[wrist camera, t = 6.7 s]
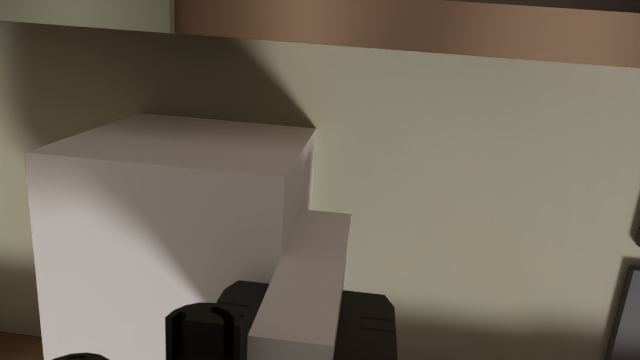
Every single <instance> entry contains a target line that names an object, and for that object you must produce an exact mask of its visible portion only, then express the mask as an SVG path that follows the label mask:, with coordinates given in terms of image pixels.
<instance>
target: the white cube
mask: <svg viewBox="0 0 640 360" xmlns="http://www.w3.org/2000/svg"><path fill="white" fill-rule="evenodd" d="M315 143H316V128H306V127H295V126H283V125H272V124H261V123H250V122H238V121H227V120H216V119H204V118H193V117H182V116H170V115H159V114H148V113H138V114H136V115H133V116H130V117H127V118H124V119H121V120H118V121H115V122H112V123H109V124H106V125H103V126H100V127H97V128H94V129H91V130H88V131H85V132H82V133H80V134H77V135H74V136H71V137H68V138H65V139H62V140H59V141H56V142H53V143H50V144H47V145H44V146H41V147H38V148H35V149H32V150H29V151H26V152H24V156H25V167H26V177H27V188H28V198H29V209H30V219H31V230H32V240H33V251H34V261H35V272H36V282H37V293H38V303H39V314H40V324H41V335H42V345H43V356H44V360H52V359H54V358H58V357H61V356H65V355H68V354H74V353H86V352H87V353H93V354H100V355H102V356H104V357H106V358H107V359H109V360H166V345H165V317H166V316H167V315H169V314H170V313H171V312H172V311H173V310H175V309H178V308H180V307H182V306H185V305H189V304H194V303H199V302H208V303H217V300H218V299H219V297H220V295H221V294H222V292H223V290H224V289H225V288H227V287H229V286H230V285H232V284H233V283H235V282H236V281H238V280H242V281H251V282H260V283H268V284H270V282H271V280H272V277H273V275H274V273H275V270H276V268H277V266H278V263H279V261H280V258H281V256H282V254H283V252H284V249H285V247H286V245H287V242H288V240H289V238H290V235H291V233H292V231H293V228H294V226H295V224H296V222H297V219H298V217H299V215H300V212H301V210H302V209H304V210H311V201H312V187H313V172H314V157H315Z"/></svg>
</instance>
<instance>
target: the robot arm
mask: <svg viewBox="0 0 640 360" xmlns="http://www.w3.org/2000/svg"><path fill="white" fill-rule="evenodd" d="M351 216H352V214H344V213H334V212H324V211H314V210H304V209H302V210H301V212H300V215H299V217H298V219H297V222H296V224H295V226H294V228H293V231H292V233H291V235H290V238H289V240H288V242H287V245H286V247H285V249H284V252H283V254H282V256H281V258H280V261H279V263H278V266H277V268H276V270H275V273H274V275H273V277H272V280H271V282H270V284H268V283H260V282H251V281H242V280H238V281H236V282H235V283H233V284H232V285H230V286H229V287H227V288H225V289H224V290H223V292H222V294H221V295H220V297H219V299H218V300H217V303H208V302H199V303H194V304H189V305H185V306H182V307H180V308H178V309H175V310H173V311H172V312H171V313H170V314H169V315H167V316H166V317H165V345H166V360H398V358H397V343H396V327H395V312H394V306H393V305H392V304H391V303H390V301H389V300H388V299H387V297H386V296H385V295H380V294H371V293H362V292H353V291H345V282H346V271H347V260H348V249H349V238H350V227H351ZM52 360H109V359H107V358H106V357H104V356H102V355H100V354H93V353H87V352H86V353H74V354H68V355H65V356H61V357H58V358H54V359H52Z"/></svg>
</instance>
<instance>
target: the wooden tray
mask: <svg viewBox="0 0 640 360" xmlns="http://www.w3.org/2000/svg"><path fill="white" fill-rule="evenodd" d="M0 21H12V22H25V23H39V24H52V25H65V26H79V27H92V28H106V29H119V30H132V31H146V32H159V33H177V34H191V35H204V36H218V37H231V38H244V39H258V40H271V41H285V42H298V43H311V44H325V45H338V46H352V47H365V48H378V49H392V50H405V51H419V52H432V53H445V54H459V55H472V56H486V57H499V58H512V59H526V60H539V61H553V62H566V63H579V64H593V65H606V66H619V67H633V68H640V13H629V12H614V11H598V10H583V9H568V8H553V7H538V6H523V5H508V4H493V3H478V2H462V1H447V0H0ZM636 244H637V245H638V246H639V247H640V228H639V232H638V236H637V240H636ZM0 360H44V356H43V345H42V338H41V337H33V336H25V335H17V334H10V333H2V332H0ZM605 360H640V267H633V266H630V267H629V271H628V274H627V278H626V282H625V286H624V290H623V294H622V297H621V301H620V305H619V309H618V313H617V317H616V320H615V324H614V328H613V332H612V336H611V340H610V343H609V347H608V351H607V355H606V359H605Z"/></svg>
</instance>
